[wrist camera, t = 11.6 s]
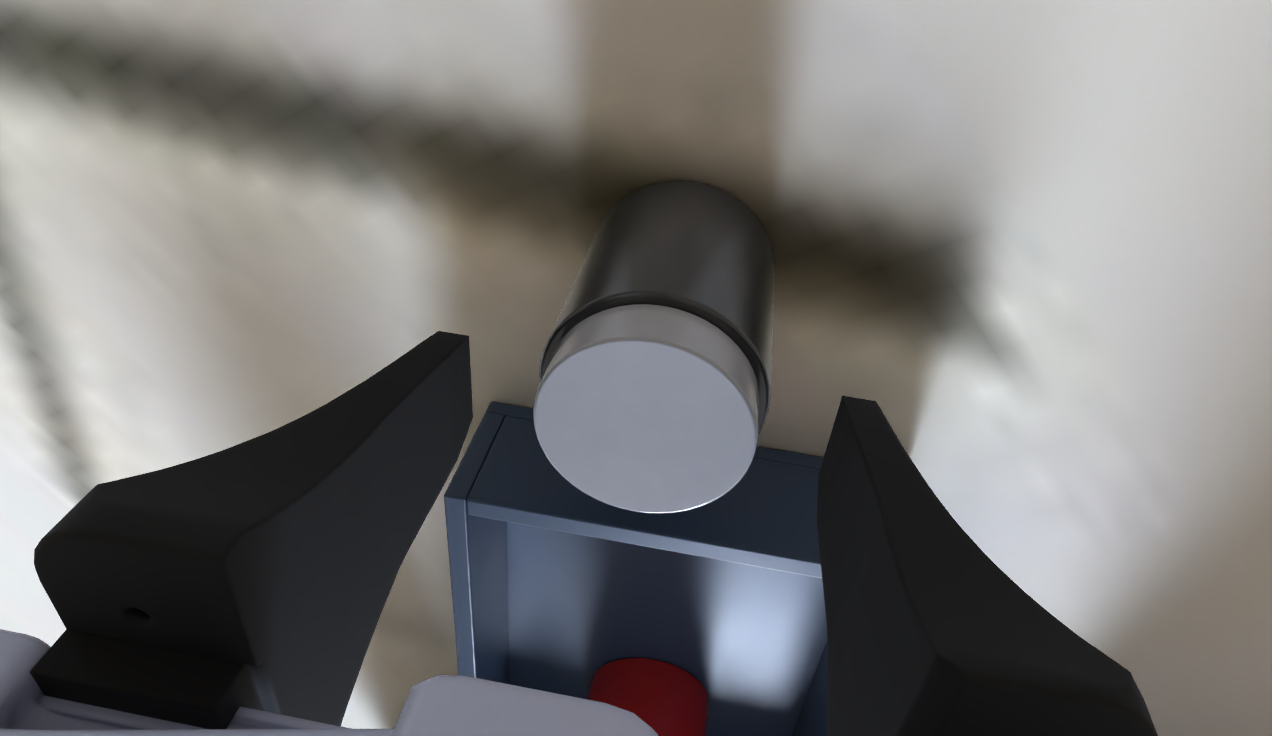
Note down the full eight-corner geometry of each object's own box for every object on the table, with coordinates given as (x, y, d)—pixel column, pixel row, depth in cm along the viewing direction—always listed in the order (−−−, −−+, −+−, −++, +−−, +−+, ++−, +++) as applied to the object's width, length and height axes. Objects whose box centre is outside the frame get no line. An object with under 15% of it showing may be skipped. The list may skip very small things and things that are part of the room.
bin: (906, 470, 23) (925, 581, 19) (787, 775, 33) (787, 881, 30) (490, 401, 24) (442, 495, 20) (499, 718, 34) (469, 814, 30)
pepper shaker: (791, 194, 19) (791, 351, 13) (757, 355, 21) (745, 539, 16) (597, 166, 19) (521, 308, 14) (587, 328, 22) (521, 499, 16)
